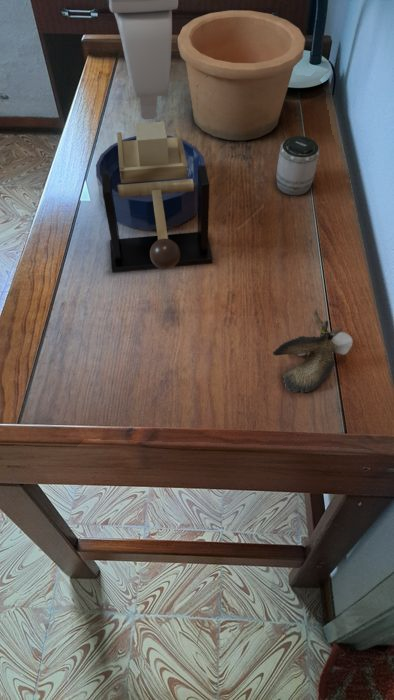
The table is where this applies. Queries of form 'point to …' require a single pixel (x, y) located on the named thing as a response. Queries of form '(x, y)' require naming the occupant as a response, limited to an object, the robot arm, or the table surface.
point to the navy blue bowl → (141, 207)
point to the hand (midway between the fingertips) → (144, 94)
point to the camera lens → (297, 165)
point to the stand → (137, 250)
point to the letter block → (152, 143)
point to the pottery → (239, 70)
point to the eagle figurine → (313, 356)
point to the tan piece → (155, 189)
